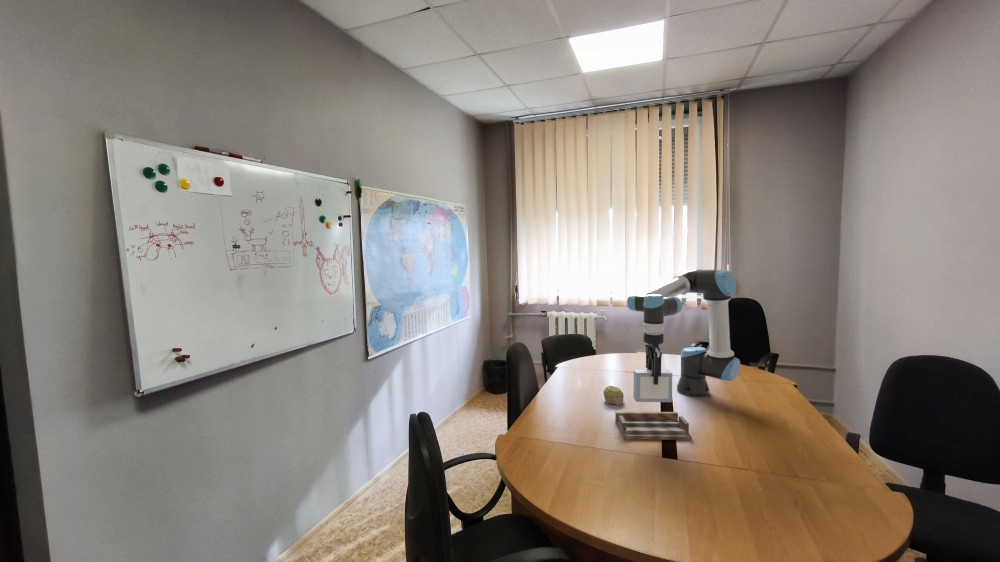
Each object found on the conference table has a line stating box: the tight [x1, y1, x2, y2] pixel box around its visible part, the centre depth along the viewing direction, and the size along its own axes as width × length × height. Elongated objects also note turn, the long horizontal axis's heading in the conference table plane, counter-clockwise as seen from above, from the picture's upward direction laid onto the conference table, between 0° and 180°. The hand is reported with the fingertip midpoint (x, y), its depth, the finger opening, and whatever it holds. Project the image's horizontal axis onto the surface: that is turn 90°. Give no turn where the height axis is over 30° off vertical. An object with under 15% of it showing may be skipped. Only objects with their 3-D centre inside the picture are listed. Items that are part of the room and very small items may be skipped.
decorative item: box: [603, 385, 625, 406], centre depth 191 cm, size 10×10×10 cm
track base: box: [614, 411, 693, 441], centre depth 161 cm, size 26×16×6 cm, turn 86°
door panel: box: [633, 369, 673, 403], centre depth 158 cm, size 14×4×12 cm, turn 85°
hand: (653, 389), depth 158 cm, fingers closed on door panel, 4 cm apart
